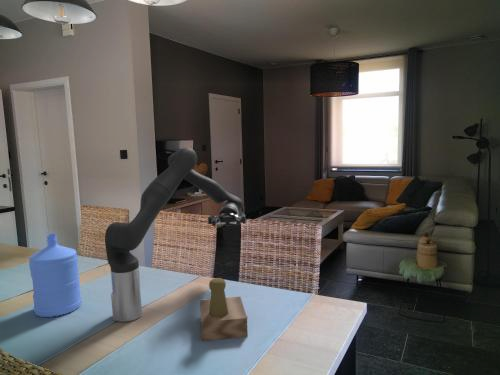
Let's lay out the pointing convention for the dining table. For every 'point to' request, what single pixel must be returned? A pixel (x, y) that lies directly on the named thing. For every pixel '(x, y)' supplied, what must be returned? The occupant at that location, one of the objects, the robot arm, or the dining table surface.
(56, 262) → the water jug
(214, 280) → the cork
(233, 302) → the walnut block
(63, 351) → the dining table surface
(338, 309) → the dining table surface
